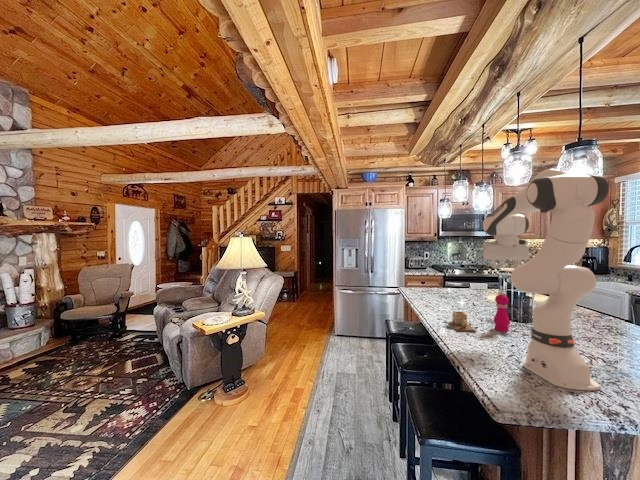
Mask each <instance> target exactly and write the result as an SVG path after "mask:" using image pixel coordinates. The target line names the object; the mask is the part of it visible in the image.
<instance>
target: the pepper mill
mask: <svg viewBox="0 0 640 480" xmlns="http://www.w3.org/2000/svg"><path fill="white" fill-rule="evenodd" d="M494 301H495V306H496V313H495V315H494V317H493V323H494V324H495V325H494V329H495V330H496V331H497V332H504V333H506V332H509V331H510V330H509V326H510V323H511V322H510V318H509V316H508V312H507V308H508V303H509V298H508V296H507V295H505V293H504V292H503V291H501V292H499V294H497V295H496V296H495V297H494Z"/></svg>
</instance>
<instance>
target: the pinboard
mask: <svg viewBox="0 0 640 480" xmlns="http://www.w3.org/2000/svg"><path fill="white" fill-rule="evenodd" d="M448 324H449V325H450V326H451V328H453V329H454V330H455V331H456V332H458V333H459V332H460V333H477V330H476V329H475V328H474V327H472V325H470V324H469V323H467V326H466V320H462V325H455V324H454V323H453V321H448Z"/></svg>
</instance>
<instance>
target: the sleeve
mask: <svg viewBox="0 0 640 480" xmlns="http://www.w3.org/2000/svg"><path fill="white" fill-rule="evenodd" d="M462 320H466V326H467V324H468V322H467V321H468V315H467V313H465V312H464V311H457V310H456V311H452V322H453V323H454V324H455V325H462Z"/></svg>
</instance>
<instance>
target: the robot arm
mask: <svg viewBox="0 0 640 480" xmlns="http://www.w3.org/2000/svg"><path fill="white" fill-rule="evenodd" d="M609 192H610V186H609V182H608V181H607V180H606V178H605V177H603V175H602V176H601V175H599V174H598V175H597V174H584V175H583V174H575V175H574V174H570V175H569V174H566V173H565V172H563V171H562V170H560V169H556V168H547V169H545V170H542V171H540V172H539V173H538V174H537V175H535V177H533V178H532V179H531V180H530V181H529V182H528V184H527V185H526V186H525V187H524V188H523V189H522V190H521V191H519V192H518V193H516V194H514V195H512V196H511V197H508V198H507V199H505V200H504V201H503V202H502V203H501V204H500V205H499V206H498V207H497V208H496V209H495V210H494V211H493V212H492V213H490V214H488V215H486V216H485V217H484V219H483V221H482V230H483V231H484V232H485V234H487V235H488V236H495V240H494V241H491V240H490V241H486V242H484V244H483V255H482V256H483V257H482V258H483V260H490V263H491V265H492V267H493V268H492V269H494V270H495V269H499V265H498V264H497V263H496V262H497V260H498V261H499V260H502V261H503V260H504V261H505V260H506V261H507V260H508V261H509V260H510V261H511V260H512V261H513V260H515V264H513V270H512V272H511V276H510V278H511V279H510V280H511V283H512V285H513V286H514V288H515V289H516V290H518V291H519V292H524V293H528V294H535V295H536V294H537V295H549V296H548V298H547V299H546V300H545V301H542V302H540V303H538V304H537V305H535V306H534V308H533V310H532V327H531V329H530V337H531V340H530V342H529V343H528V345H527V348H526V349H527V351H526V358H525V361H524V362H522V367H524V368H525V369H527V370H528V371H530V372H532V373H533V374H535V375H537V376H538V377H539V378H542V379H543V380H545V381H546V382H547V383H549V384H551V385H552V386H556V387H558V388H563V389H569V390H575V391H576V390H577V391H598V390H601V385H600V384H599V383H598V382H596V381H595V380H594V379H593V378H592V377H591V371H590V365H589V361H587V360H584V358H583V357H582V356H581V354H580V353H579V352H578V350H577V349H576V347H575V344H576V340H575V339H574V337H573V335H572V331H571V327H572V317H573V312H574V309H575V307H576V306H577V304H578V303H579V302H580V300H582V298H584V297H585V296H587V295H588V294H590V293H592V292H593V291H594V289H595V288H596V286H597V279H596V275H595V274H594V273H593V271H592V270H591V269H589V268H588V267H584V266H579V265H573V264H576V263H577V262H579V261H580V260H581V259H582V258H583V256H584V253H585V251H586V248H587V246H588V243H589V242H590V241H589V240H590V239H591V236H592V232H593V229H594V225H595V219H596V216H595V215H596V214H595V211H594V209H593V208H592V207H593V206H596V205H599V204H601V203H603V202H604V201H605V199H607V197H608V196H609ZM538 212H541V213H543V214H546V213H548V212H550V213H551V217H552V218H551V222H550V224H549V227H548V229H547V233H546V236H545V238H544V241H543V243H542V246H541V247H540V249H539V251H538V252H537V254H535V255H534V256H533V257H532V258H530V247H529V246H528V245H529V241H528V240H527V239H523V238H519V237H517V236H518V235H523V234H525V233H526V232H527V231H528V230H529V229H530V221H529V219H528V217H527V216H526V215H524V214H529V213H538ZM528 259H530V260H528ZM522 260H523V261H526V260H527V261H526V262H525V263H522V264H521V262H522Z"/></svg>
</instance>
